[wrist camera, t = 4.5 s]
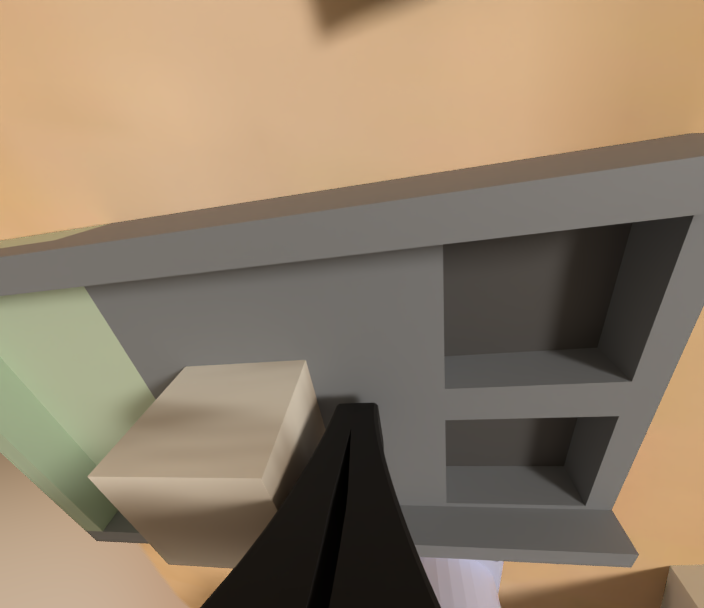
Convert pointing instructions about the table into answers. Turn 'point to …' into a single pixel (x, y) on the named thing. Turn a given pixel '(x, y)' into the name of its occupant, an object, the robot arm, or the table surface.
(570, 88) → the table surface
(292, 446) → the cream block
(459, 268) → the box
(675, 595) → the white rack
